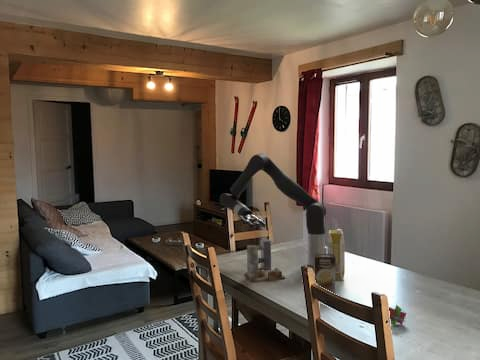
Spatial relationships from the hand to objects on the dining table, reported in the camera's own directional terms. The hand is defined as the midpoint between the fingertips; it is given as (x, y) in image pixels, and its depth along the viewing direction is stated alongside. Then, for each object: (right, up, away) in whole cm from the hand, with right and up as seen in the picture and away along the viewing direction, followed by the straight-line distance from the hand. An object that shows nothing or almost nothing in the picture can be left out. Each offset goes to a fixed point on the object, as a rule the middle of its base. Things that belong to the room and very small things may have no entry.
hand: (258, 226), depth 216 cm
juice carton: (+36, -23, -22) cm, 48 cm away
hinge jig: (+2, -23, -18) cm, 29 cm away
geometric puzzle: (+45, -27, -74) cm, 90 cm away
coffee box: (+27, -24, -39) cm, 53 cm away
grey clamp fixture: (+2, -22, -4) cm, 22 cm away
